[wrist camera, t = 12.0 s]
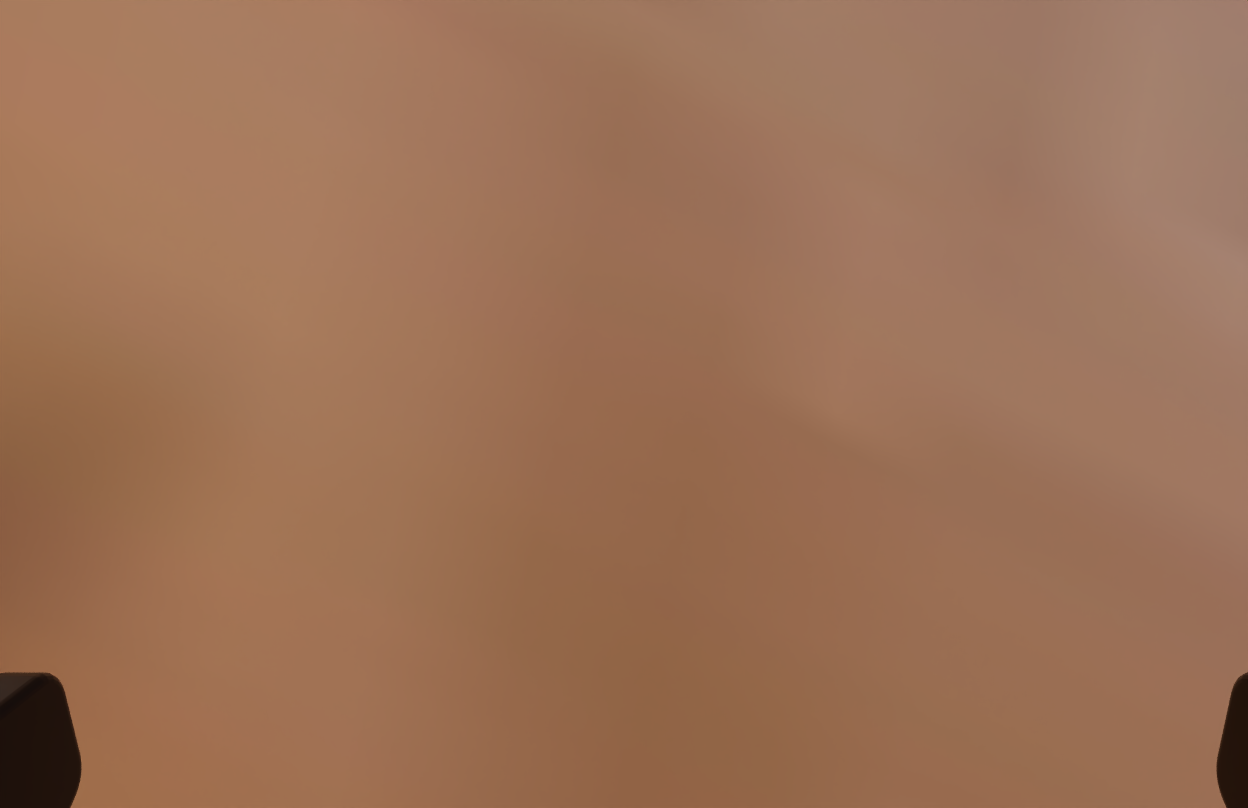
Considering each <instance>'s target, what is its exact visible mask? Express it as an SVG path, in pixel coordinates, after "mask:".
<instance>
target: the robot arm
mask: <svg viewBox="0 0 1248 808" xmlns="http://www.w3.org/2000/svg"><path fill="white" fill-rule="evenodd" d="M80 778H81V757H80V752H79V748H78V744H77V740H76V736H75V731H74V727H73V723H72V719H71V715H70V711H69V707H68V703H67V699H66V695H65V691H64V688H63V686H62V684H61V682H60V681H59V679H58V678H57V677H55V676H53V675H52V674H50V673H1V674H0V808H70V807H71V805H72V803H73V800H74V798H75V796H76V793H77V790H78V787H79V783H80ZM1217 780H1218V785H1219V789H1220V792H1221V795H1222V798H1223V801H1224V803H1225V805H1226V808H1248V672H1247V673H1245V674H1243V675H1242V676H1240V677H1239V678H1238V679H1237V681H1236V682H1235V684H1234V686H1233V689H1232V692H1231V697H1230V701H1229V706H1228V711H1227V715H1226V720H1225V725H1224V729H1223V734H1222V739H1221V743H1220V748H1219V753H1218V757H1217Z"/></svg>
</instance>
